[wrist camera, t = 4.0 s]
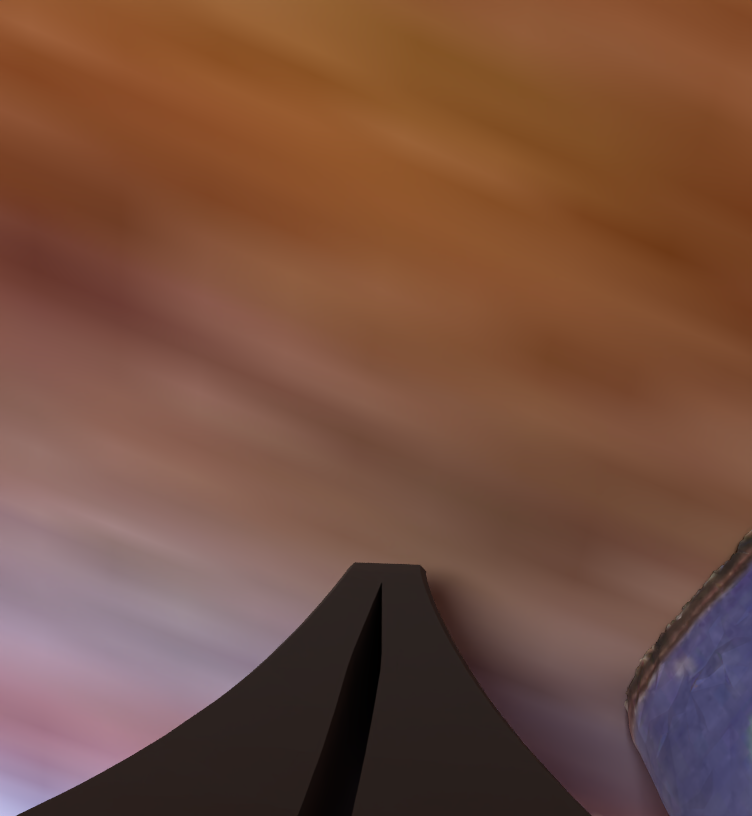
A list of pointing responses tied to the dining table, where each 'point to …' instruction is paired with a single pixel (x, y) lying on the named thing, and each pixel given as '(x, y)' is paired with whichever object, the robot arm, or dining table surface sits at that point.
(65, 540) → the dining table surface
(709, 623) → the flask
